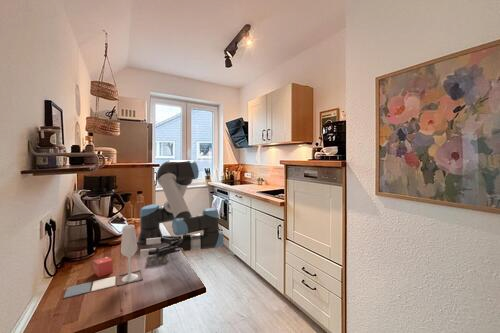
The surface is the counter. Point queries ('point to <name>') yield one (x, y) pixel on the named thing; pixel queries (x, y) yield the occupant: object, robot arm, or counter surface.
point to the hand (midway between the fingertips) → (143, 247)
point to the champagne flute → (129, 249)
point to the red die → (103, 266)
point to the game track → (96, 285)
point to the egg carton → (153, 260)
